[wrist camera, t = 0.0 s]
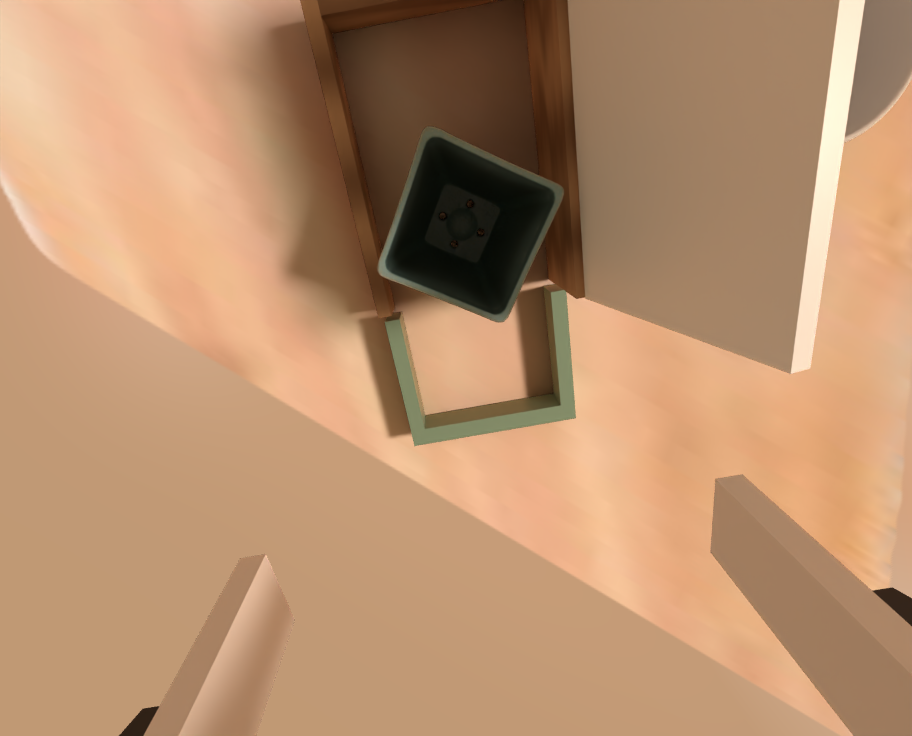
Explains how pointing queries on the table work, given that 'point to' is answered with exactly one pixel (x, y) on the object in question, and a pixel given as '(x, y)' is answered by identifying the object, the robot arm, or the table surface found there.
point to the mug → (880, 63)
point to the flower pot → (467, 225)
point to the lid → (712, 162)
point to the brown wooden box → (547, 26)
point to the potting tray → (496, 414)
